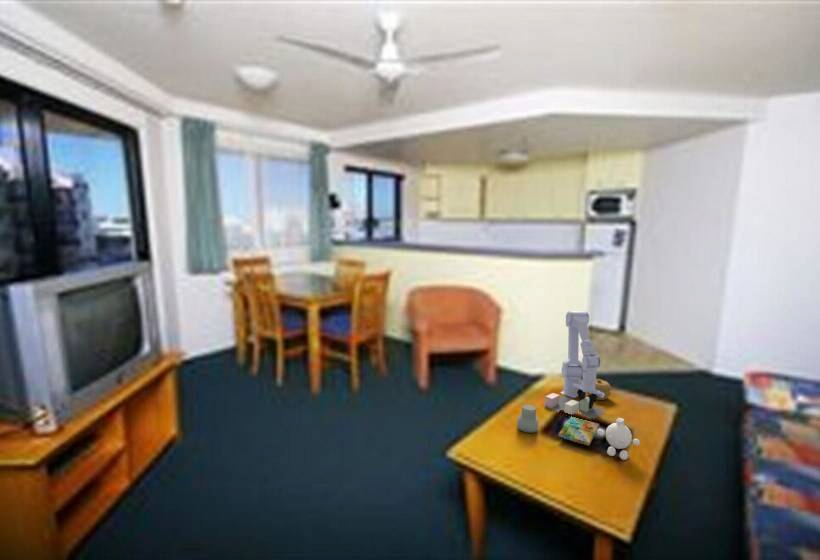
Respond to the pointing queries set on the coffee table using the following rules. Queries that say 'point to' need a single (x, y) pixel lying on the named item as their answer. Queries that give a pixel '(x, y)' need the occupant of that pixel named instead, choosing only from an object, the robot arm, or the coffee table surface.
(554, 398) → the rose brick
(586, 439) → the puzzle game
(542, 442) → the coffee table surface
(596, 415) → the mat
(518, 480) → the coffee table surface
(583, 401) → the sage brick
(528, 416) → the air freshener
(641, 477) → the coffee table surface
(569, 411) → the cream brick
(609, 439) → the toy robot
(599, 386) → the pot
